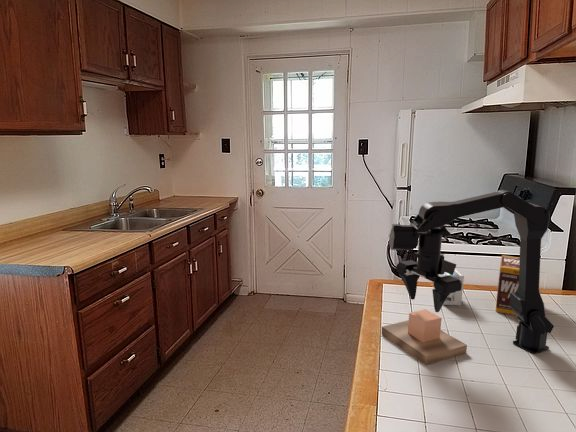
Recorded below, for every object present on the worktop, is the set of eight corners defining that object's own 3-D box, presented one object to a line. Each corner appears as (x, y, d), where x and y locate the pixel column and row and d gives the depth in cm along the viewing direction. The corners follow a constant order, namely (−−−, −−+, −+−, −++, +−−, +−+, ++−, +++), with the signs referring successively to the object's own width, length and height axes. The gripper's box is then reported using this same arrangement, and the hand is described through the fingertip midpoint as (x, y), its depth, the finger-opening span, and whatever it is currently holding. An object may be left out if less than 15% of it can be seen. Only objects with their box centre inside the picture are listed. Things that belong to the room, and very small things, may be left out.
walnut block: (465, 355, 110) (467, 344, 110) (426, 367, 105) (427, 356, 104) (418, 326, 126) (418, 317, 126) (381, 336, 120) (381, 326, 120)
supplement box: (495, 312, 136) (500, 266, 133) (496, 296, 149) (501, 254, 146) (531, 318, 131) (538, 272, 128) (529, 301, 144) (535, 258, 141)
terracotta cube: (439, 338, 113) (441, 317, 112) (423, 342, 111) (424, 321, 110) (423, 328, 119) (425, 309, 118) (407, 332, 116) (409, 312, 115)
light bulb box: (461, 305, 140) (464, 275, 138) (441, 305, 141) (444, 275, 138) (450, 293, 151) (453, 265, 149) (431, 293, 151) (434, 265, 149)
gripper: (480, 256, 105) (473, 313, 108) (426, 239, 122) (422, 289, 125) (447, 261, 100) (442, 321, 104) (396, 243, 117) (393, 295, 120)
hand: (424, 305), depth 113 cm, fingers open, 9 cm apart
